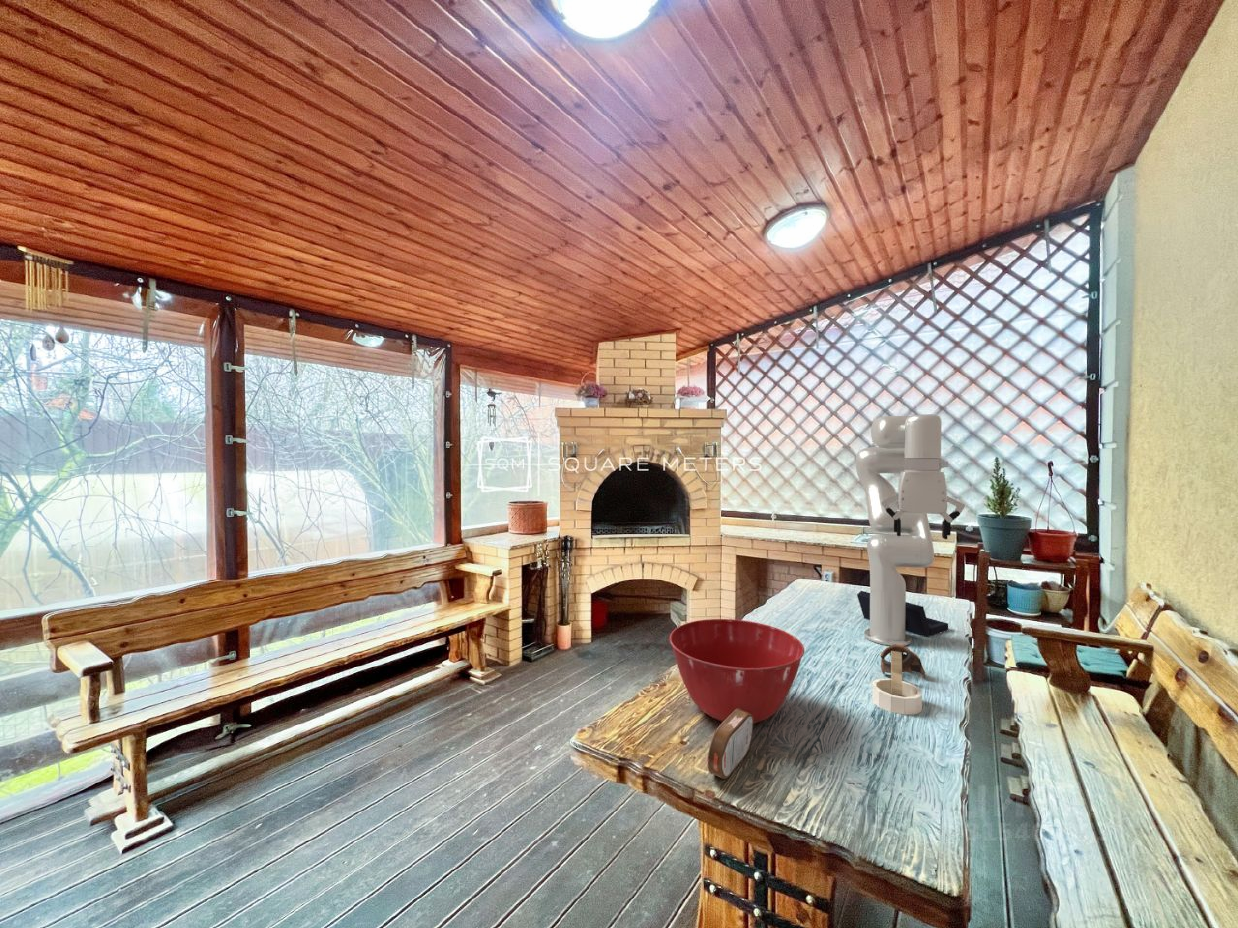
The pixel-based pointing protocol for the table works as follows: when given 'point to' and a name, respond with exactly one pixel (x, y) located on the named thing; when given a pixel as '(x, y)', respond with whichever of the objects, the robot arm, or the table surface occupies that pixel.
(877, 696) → the cream faceted bowl
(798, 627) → the table surface
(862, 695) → the table surface
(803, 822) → the table surface
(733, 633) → the mixing bowl
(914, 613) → the black laptop
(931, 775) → the table surface
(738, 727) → the tin
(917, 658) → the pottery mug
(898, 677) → the wall mounted peg
